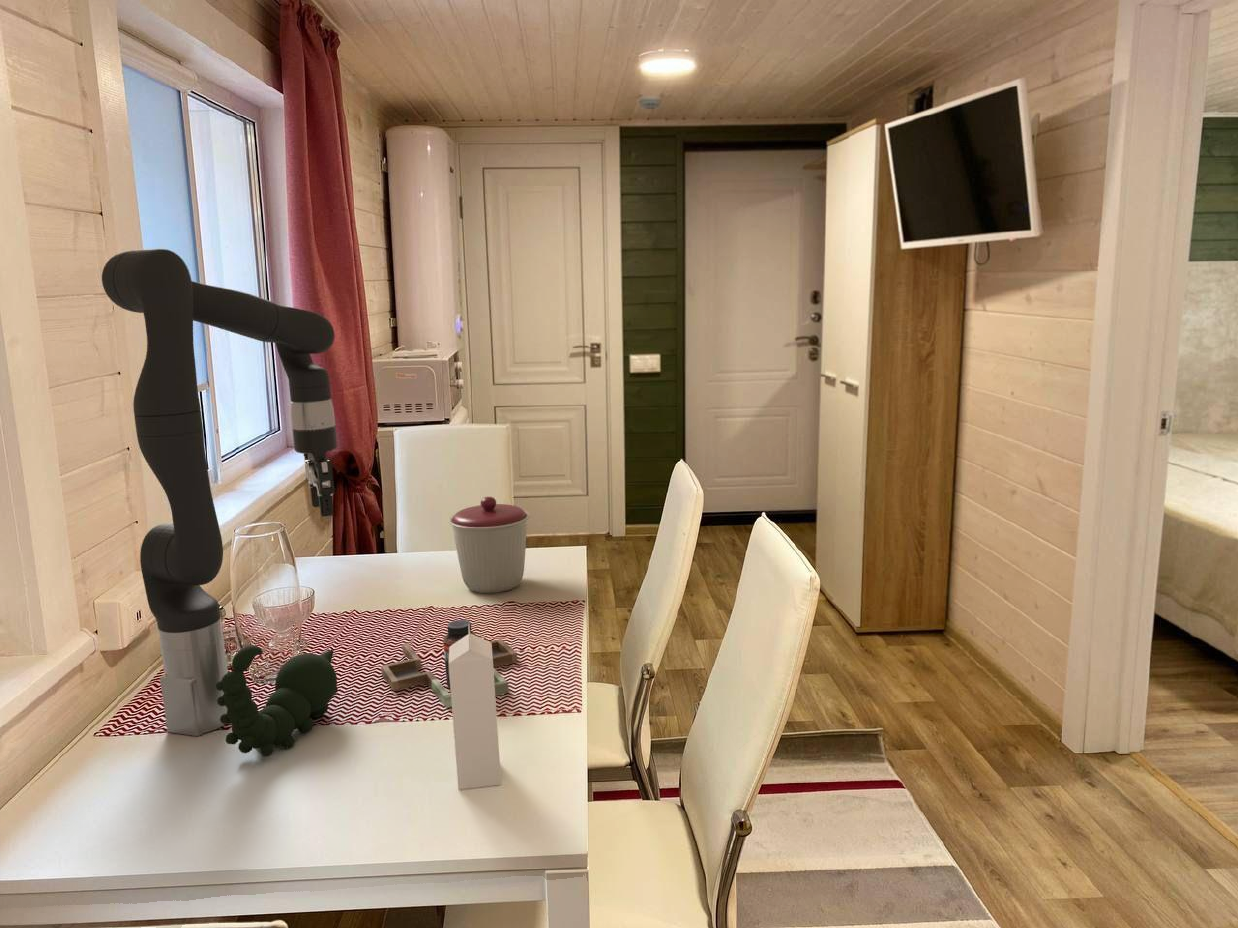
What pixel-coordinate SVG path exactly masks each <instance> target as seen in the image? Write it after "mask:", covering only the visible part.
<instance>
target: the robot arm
mask: <svg viewBox="0 0 1238 928" xmlns="http://www.w3.org/2000/svg"><path fill="white" fill-rule="evenodd" d="M101 282H102V287H103V290H104V292H105V294H106V296H107V297H108V298H109V299H110V301H111V302H113V303H114V304H115V305H117V307H120V308H121V309H124V310H125V311H129V312H131V313H132V312H133V313H139V314H142V313H143V318H144V324H145V325H144V326H145V333H146V355H145V359H144V362H143V366H142V368H141V373H140V375H139V378H138V381H137V384H136V388H135V391H134V396H133V403H132V404H133V414H134V415H133V416H134V423H135V431H136V437H137V443H138V446H139V450H140V453H141V454H142V456H143V458H144V459H145V462H146V463H147V465H148V466H149V468H150V469H151V471H152V474H153V475H154V477H156V479H157V480H158V482H159V484H160V486H161V487H162V489H163V491H164V494H165V495H166V497H167V500H168V503H169V507H170V511H171V517H172V523H171V522H169V523H161V524H157V525H156V526H154V527H152V528H151V529H150V530H149V531H148V532H147V534H145V536H144V538H143V540H142V543H141V546H140V554H139V557H140V558H139V561H140V562H139V563H140V568H141V569H140V570H141V574H142V580H143V584H144V585H143V586H144V589H145V594H146V600H147V603H148V604H147V605H148V607H149V611H150V612H151V614H152V615H153V617H154V618H155V620H156V624H157V625H156V626H157V633H158V639H159V645H160V653H161V660H162V666H163V675H161V676H159V683H160V689H161V695H162V703H163V709H164V710H163V711H164V717H165V724H166V730H167V732H168V733H173V734H180V735H181V734H182V735H188V736H193V737H199V736H200V735H203V734H204V733H207V732H212V731H215V730H217V729H219V728H221V727H223V726H225V725H226V724H223V723H221V722H220V717H221V716H222V715H223V714H227V709H228V708H227V707H226V706H220V705H218V703H217V699H218V698H219V697H220V696H223V694H224V692H223V691H219V690H217V689H216V684H217V682H219V681H221V679H222V678H223V676H224V675H225V674H227V673H228V672H229V671H228V663H227V657H226V656H227V655H226V648H225V640H224V634H223V633H224V632H223V626H222V625H223V624H222V617H221V608H220V604H219V602H218V600H217V599H216V598H215V597H213V596H212V595H211V594H209V593H207V592H206V591H205V590H204V589H203V588H202V586H204V585H206V584H209V583H211V582H212V581H213V580H215V578H216V577H217V576H218V574H219V573H220V570H221V568H222V565H223V560H224V544H223V538H222V533H221V529H220V525H219V521H218V517H217V513H216V509H215V504H214V499H213V495H212V490H211V484H210V477H209V469H208V462H207V457H206V455H207V454H206V449H205V437H204V427H203V418H202V408H201V401H200V396H199V389H198V380H197V367H196V358H195V348H194V346H195V345H194V322H197V323H201V324H204V325H208V326H210V327H215V328H217V329H221V330H223V331H228V332H229V333H230V332H231V333H233V334H237V335H240V336H242V337H247V338H249V339H252V340H255V341H259V342H262V343H263V342H265V343H271V344H274V343H275V347H276V350H277V352H278V355H279V359H280V361H281V364H282V366H283V370H284V372H285V374H286V376H287V379H288V387H289V396H290V419H291V426H292V427H291V429H292V430H291V431H292V439H293V447H294V451H295V453H298V454H303V457H304V458H303V459H304V467H305V468H304V469H305V481H306V483H307V485H308V487H309V490H310V499H311V506H312V507H313V508H319V512H320V514H319V515H321V516H322V518H323V517H324V518H325V517H329V516H333V515H334V504H333V502H334V501H333V495H334V494H335V491H336V488H335V484H334V483H335V482H334V473H333V462H332V461H331V460H330V459H328V458H327V457H328V456H327V452H330V451H331V452H332V451H334V450H336V449H337V448H338V438H337V429H336V419H335V410H334V409H335V408H334V405H333V402H332V393H331V386H330V385H331V384H330V383H331V382H330V381H331V380H330V375H329V372H328V371H327V369H325V368H324V367H322V366H319V365H317V364H315V362H314V360H313V359H312V356H311V355H313V354H315V355H316V354H322V353H325V352H326V351H328V350H329V349H330V348H331V347H332V346H333V344H334V341H335V336H336V334H335V333H336V332H335V330H334V327H333V325H332V324H331V322H330V321H329V320H328V319H327V318H326V317H325V316H324V315H321V314H320V313H317V312H313V311H310V310H306V309H300V308H297V307H290V306H285V305H281V304H279V303H276V302H275V301H271V300H269V299H265V298H264V297H263V298H262V297H259V296H257V295H255V294H252V293H248V292H244V291H241V290H236V289H232V288H225V287H221V286H216V285H215V286H214V285H210V284H205V283H200V282H198V281H193V280H192V276H191V273H190V270H189V268H188V266H187V263H186V262H185V260H184V259H183V258H182V257H181V256H180V255H179V254H177V252H174V251H172V250H170V249H166V248H153V249H152V248H151V249H150V248H149V249H137V250H136V249H135V250H128V251H127V250H126V251H124V252H120V253H118V254H115V255H114V256H112V257H111V258H109V260H108V261H107V262H106V263H105V264H104V267H103V269H102V273H101ZM323 486H327V487H323Z"/></svg>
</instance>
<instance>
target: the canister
mask: <svg viewBox="0 0 1238 928" xmlns="http://www.w3.org/2000/svg"><path fill="white" fill-rule="evenodd" d="M530 517H531V516H530V512H528V511H527V510H525V509H523V508H521V507H520V506H517V505H512V504H507V503H505V504H504V503H503V504H502V503H497V500H496V499H495V497H493V496H485V497H483V498H482V499H481V500H480V505H474V506H470V507H466V508H463V509H461V510H459V511H457V512H456V513H455V514H453V515H452V516H450V518H449V519H448V523H449V525H451V527H452V531H453V532H452V533H453V538H454V542H455V548H456V549H455V550H456V554H457V559H458V563H459V568H460V573H461V577H462V580H463V583H464V585H465V586H466V587H467V588H468V589H469V590H471V591H473V592H476V593H480V594H481V593H482V594H495V593H496V594H497V593H503V592H507V591H511V590H513V589H515V588H516V587H518V586H519V585H520V584H521V582H522V580H523V578H524V573H525V572H524V571H525V563H526V562H525V561H526V547H527V546H526V545H527V542H526V541H527V528H528V527H527V526H528V524H527V521H528V520H529V519H530Z"/></svg>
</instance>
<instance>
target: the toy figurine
mask: <svg viewBox="0 0 1238 928" xmlns="http://www.w3.org/2000/svg"><path fill="white" fill-rule="evenodd" d="M263 653H264V651H263V650H262V648H261V647H259V646H258V645H246V646H244V647H243V648H241V649H240V650H238V651H237V653H236V654H235V655H234V657H233V658H232V661H231V667H232V670H231V671H228V673H227V674H225V675H224V676H223V678H222V679H221V681H219V682H217V684H216V689H217V690H219V691H223V692H224V694H223V696H220V697H219V698H218V699H217V703H218V705H220V706H226V707H227V708H228V709H227V714H223V715H222V716H221V717H220V722H221V723H223V724H225V725H227V724H229V723H230V724H231V732H228V734H227V735H226V737H225V742H226V744H228V745H236V744H237V743H238V741H240V742H239V743H238V747H237V749H238V750H239V752H241V754H248V753H250V752H252V751H253V749H254V750H259V753H260V754H261V755H262V756H263V757H269V756H272V755H273V753H274V752H275V747H277V746H281V747H282V749H283V748H284V749H291V748H293V747H294V746H295V743H296V739H295V737H294V735H293V733H294V732H295V730H298V732H300V733H301V734H307V733H309V732H311V731H312V730H313V729H314V725H315V724H314V720H313V719H312V718H311V717H313V718H319V717H321V716H324V715H325V714H326V713H327V712H328V710H329V703H330V702H331V700H332V699H333V697H335V695H337V693H338V691H339V690H338V677H337V672H336V671H335V668H334V666H333V665H332V660H333V657H334V650H333V649H329V650H327V651H325V652H323V653H321V654H317V653H311V652H309V653H307V652H306V653H300V654H297V655H294V656H293V657H290V659H288V660H287V661H286V662H284V664H283V665H282V666H281V667H280V669H279V670H278V671H277V674H276V678H275V682H274V692H272V694H270V695H269V697H268V699H267V700H266V703H265V706H264V707H263V708H262V709H261V710H259V708H258V705H257V702H255V701H254V700H253V693H252V690H251V688H250V687H249V686H248V685H247V677H246V676H245V675H244V674H243V673H244V672H246V671H247V670H248V669H249V668H250V667H251V665H252V662H253V661H254V659H255V658H256V656H257V655H258V656H262V655H263Z"/></svg>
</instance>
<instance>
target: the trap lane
mask: <svg viewBox="0 0 1238 928" xmlns="http://www.w3.org/2000/svg"><path fill="white" fill-rule="evenodd" d="M489 642H491V643H492V656H493V670H494V685H495V697H496V696H499V695H504V694H508V693H509V692H510V690H509V681H507V680H506V678H504V677H503V676H502V674H500V673H499V672H498V671H497V669H495V668H499V667H503V666H507V665H510V664H511V665H512V664H515V663H518V653H517V652H516V651H515V650H514V649H513V648H512V647H511V646H510V645H509V644H508V643H507V642H505V641H504V640H503V639H502V638H499V639H494V640H490V641H489ZM401 648H402V654H403V653H404V654H405V655H406V656H405V655H404V654H403V655H404V656H405V657H407V658H408V659H409V660H408V659H407V658H406V660H405V659H404V660H401V661H397V662H392V663H388V664H383V665H380V668H381V676H382V678H383V679H384V678H385V679H384V680H385V682H386V681H387V682H386V684H387V685H388V684H389V685H388V686H389V688H390V687H391V688H390V689H391V690H393V691H395V692H397V690H399V691H402V690H401V689H403V690H406V688H407V689H410V688H409V687H411V688H414V687H413V686H415V687H418V686H417V685H420V686H423V684H424V685H428V687H429V688H430V689H431V691H432V692H433V693H434V694H435V695H436V697H437V698H438V699H439V700H440V702H441V703H442V705H444V707H445V708H446V709H448V708H452V702H451V693H450V692H448V690H447V689H446V688H445V687H444V685H442V683H441V682H440V681H439V679H438V678H437V677H436V676H435V675H434V673H433V672H432V671H431V670H428V671H425V672H424V671H423V672H420V671H419V670H420V668H421V669H422V660H421V658H420V656H419V655H418V654H417V652H415V650H414V649H413V648H412V647H411V646H410V644H409V643H408V642H405V643H402V644H401ZM393 691H392V692H393Z"/></svg>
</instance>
